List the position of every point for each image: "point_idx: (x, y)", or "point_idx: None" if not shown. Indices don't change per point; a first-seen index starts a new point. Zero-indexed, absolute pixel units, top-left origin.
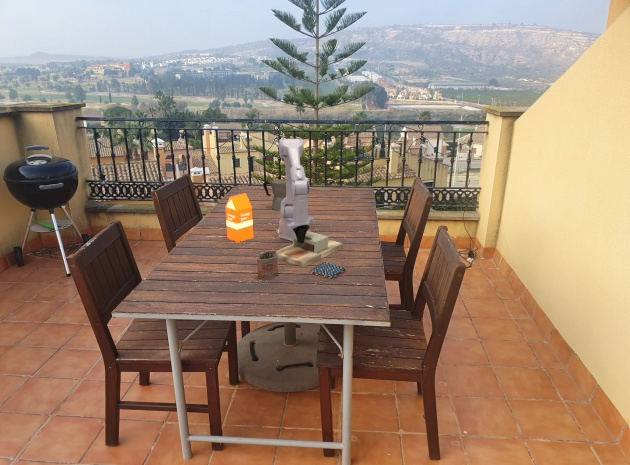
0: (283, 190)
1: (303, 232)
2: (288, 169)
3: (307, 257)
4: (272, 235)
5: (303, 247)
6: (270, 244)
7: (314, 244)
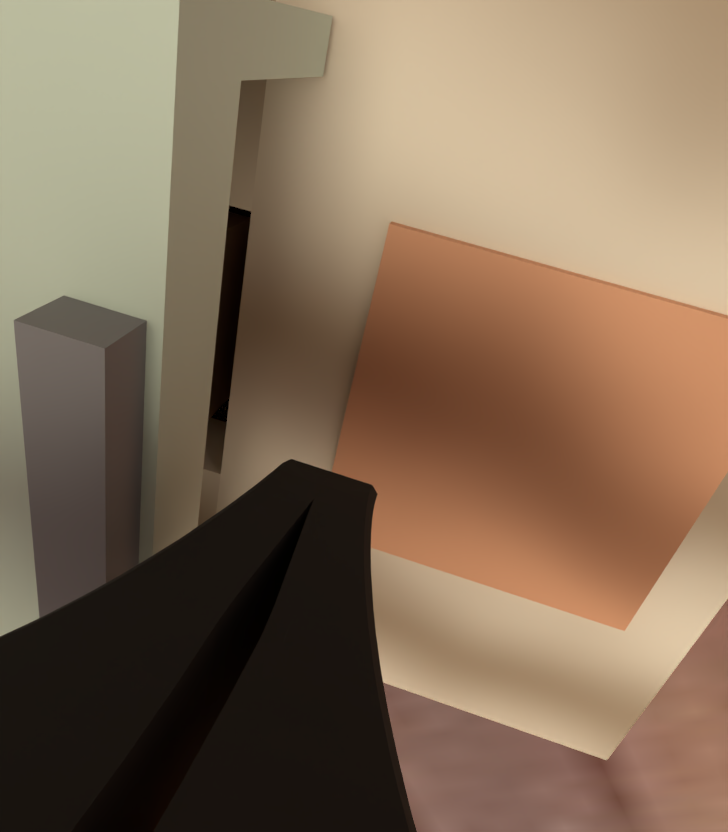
0: None
1: (239, 805)
2: None
3: (672, 112)
4: None
5: None
6: None
7: (233, 74)
